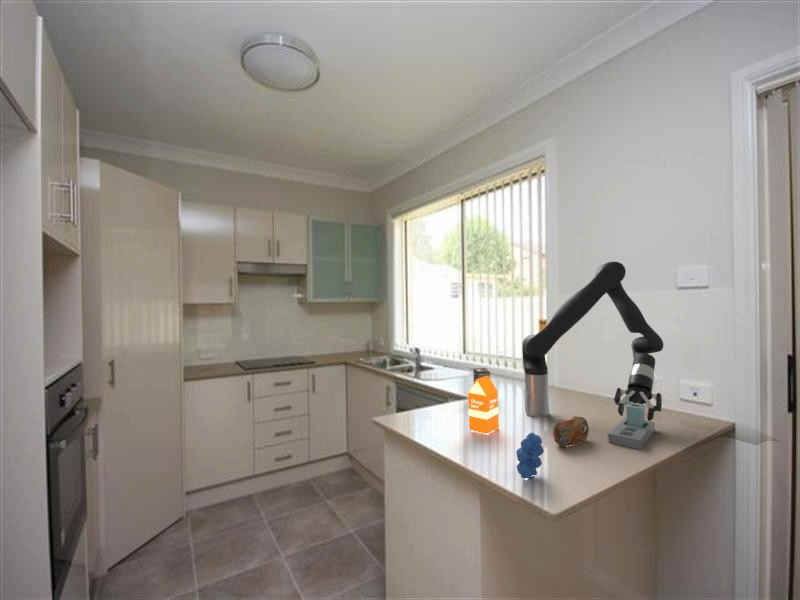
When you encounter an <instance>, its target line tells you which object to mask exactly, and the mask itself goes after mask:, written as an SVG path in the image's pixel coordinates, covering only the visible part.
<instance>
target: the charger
mask: <svg viewBox="0 0 800 600" xmlns="http://www.w3.org/2000/svg"><path fill="white" fill-rule="evenodd" d="M625 407H626V417H627V425H630V426H635V427H641V428H645V420H646V418H645V405H644V404H637V403H630V404H627V405H626V406H625Z"/></svg>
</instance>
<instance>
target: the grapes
mask: <svg viewBox="0 0 800 600" xmlns="http://www.w3.org/2000/svg"><path fill="white" fill-rule="evenodd" d="M542 443H543V441H542V438H541V436H540V435H538V434H536V433H533V432H529V433H528V434H527V435H526V438H524V439H522V440H521V442H520V446H521V447H519V448H518V449H517V450H516V451H515V453H516V459H517V460H518V464H517V465H516V469H517V472H518V474H519V475H520V477H521V479H522V478H524V479H525V478H530V479H532V478H531V476H532V475H536V476H537V474H538V471H537V470H538V469H539V468H540V467H541V465H543V462H542V459H541V458H540V457H541V455H543V453H544V452H545V451H544V447H543V446H542Z"/></svg>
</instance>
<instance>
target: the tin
mask: <svg viewBox="0 0 800 600" xmlns="http://www.w3.org/2000/svg"><path fill="white" fill-rule="evenodd" d="M552 430H553V431H552V432H553V440H554V442H555V443H556V444H557V445H559V446H561V447H563V448H567V447H566V446H569V445H573V444H576V443H579V442H582V443H583V441H584V442H585V441H586V440H587V438H588V436H589V431H590V430H589V424H588V421H587V419H586V418H584V417H582V416H576V415H575V416H571V417H567V418H564V419H561V420H558V421H557V422H556V423H555V424H554V426H553V428H552ZM579 444H580V443H579ZM576 445H577V444H576ZM573 446H574V445H573Z"/></svg>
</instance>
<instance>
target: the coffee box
mask: <svg viewBox="0 0 800 600" xmlns="http://www.w3.org/2000/svg"><path fill="white" fill-rule="evenodd" d="M472 369H473V370H472V371H473V384H474V383H475V382H476V379H479V378H482V377H485V376H489V378H490V379H491V372H490V370H489V369H488V368H486V367H480V368H479V367H476V368H472Z"/></svg>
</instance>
